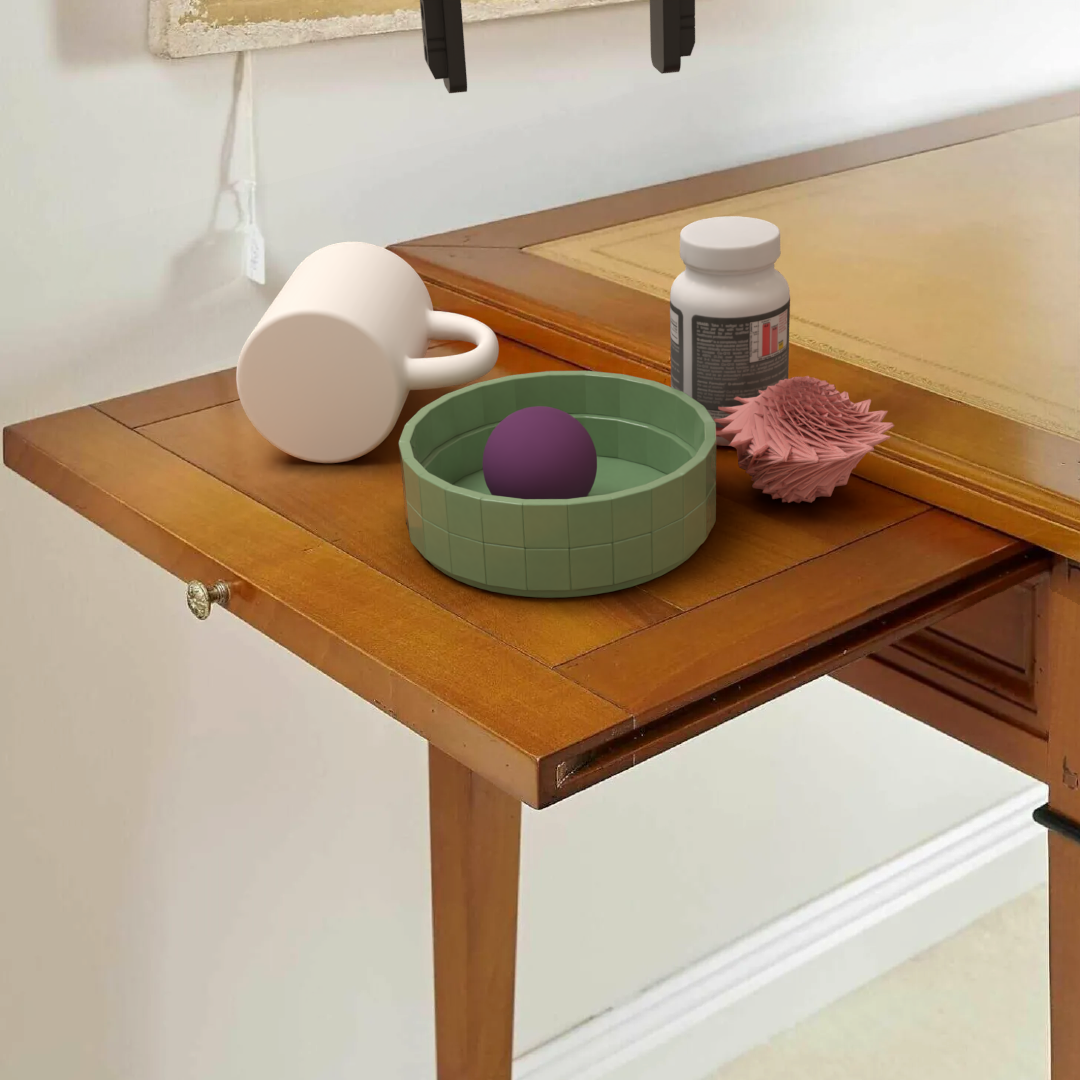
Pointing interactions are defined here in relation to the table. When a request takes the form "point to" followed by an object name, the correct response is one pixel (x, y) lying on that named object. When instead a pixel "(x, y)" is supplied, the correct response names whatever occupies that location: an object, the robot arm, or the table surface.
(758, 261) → the pill bottle
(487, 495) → the bowl
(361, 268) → the mug
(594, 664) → the table surface
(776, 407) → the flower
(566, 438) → the ball
